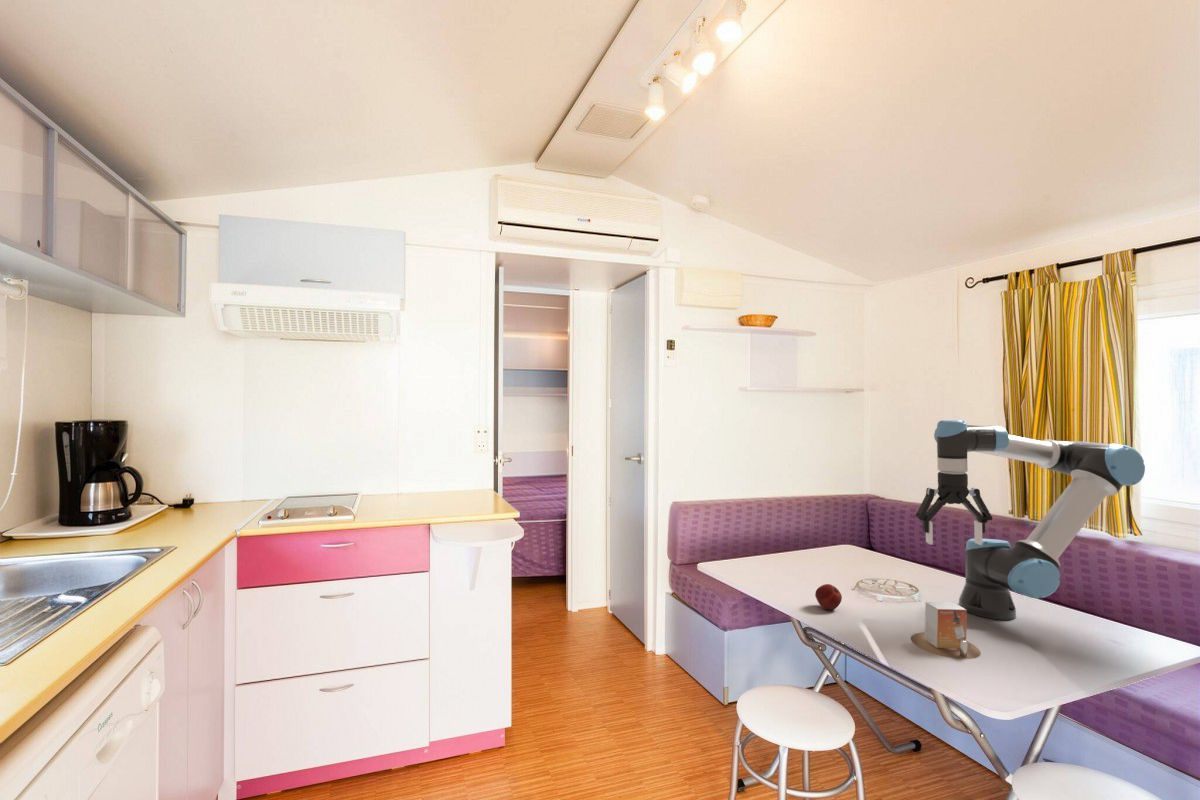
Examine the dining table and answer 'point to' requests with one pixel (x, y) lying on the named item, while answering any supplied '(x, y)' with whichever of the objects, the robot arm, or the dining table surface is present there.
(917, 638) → the flange base
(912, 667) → the dining table surface
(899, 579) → the dining table surface
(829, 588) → the apple
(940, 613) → the small box
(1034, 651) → the dining table surface
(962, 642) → the stop pin
